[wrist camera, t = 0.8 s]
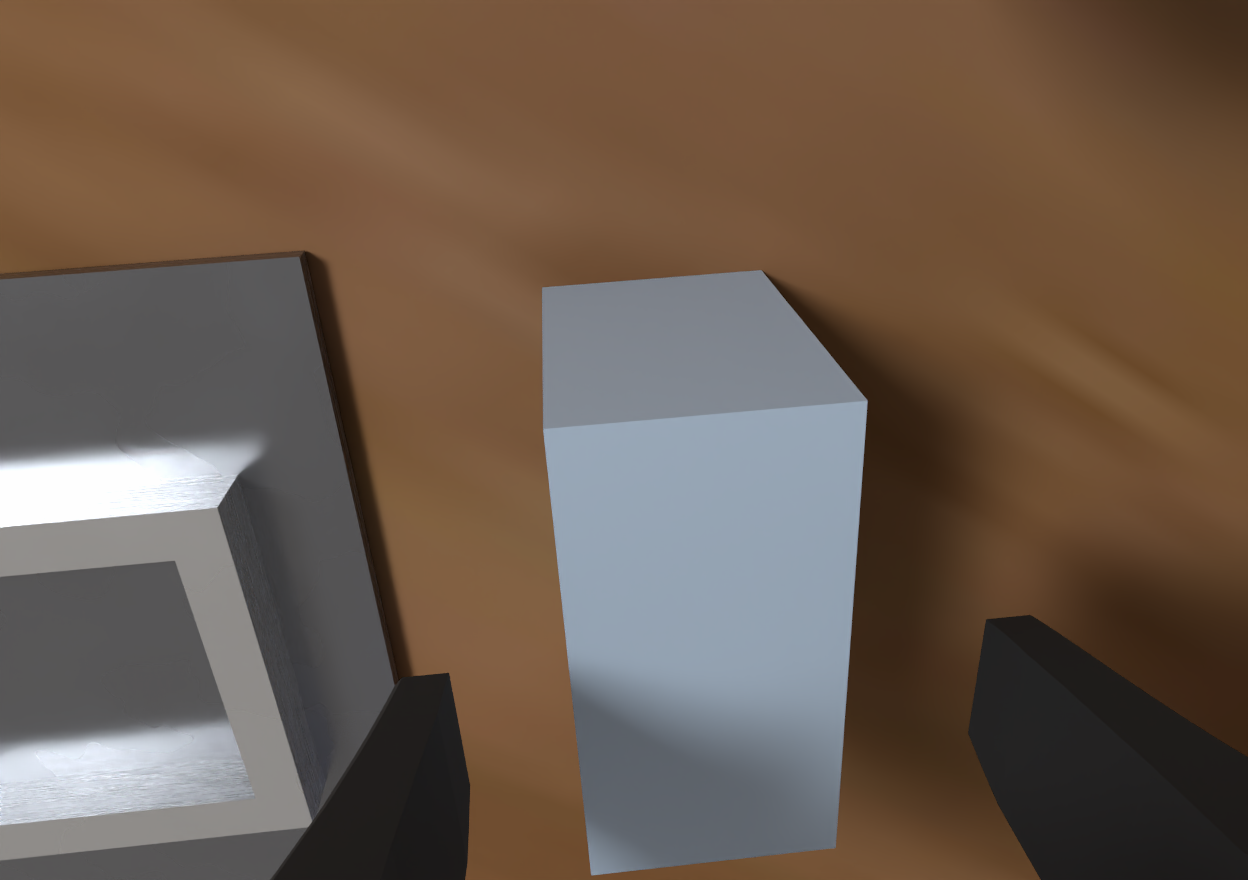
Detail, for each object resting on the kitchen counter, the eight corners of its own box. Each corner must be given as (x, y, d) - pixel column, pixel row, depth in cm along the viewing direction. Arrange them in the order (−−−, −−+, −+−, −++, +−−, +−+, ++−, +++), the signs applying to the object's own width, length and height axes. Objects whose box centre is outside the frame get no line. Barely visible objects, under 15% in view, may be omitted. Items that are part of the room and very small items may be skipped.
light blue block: (756, 619, 20) (835, 848, 15) (577, 637, 20) (591, 875, 14) (759, 269, 16) (867, 400, 11) (542, 286, 16) (542, 429, 11)
